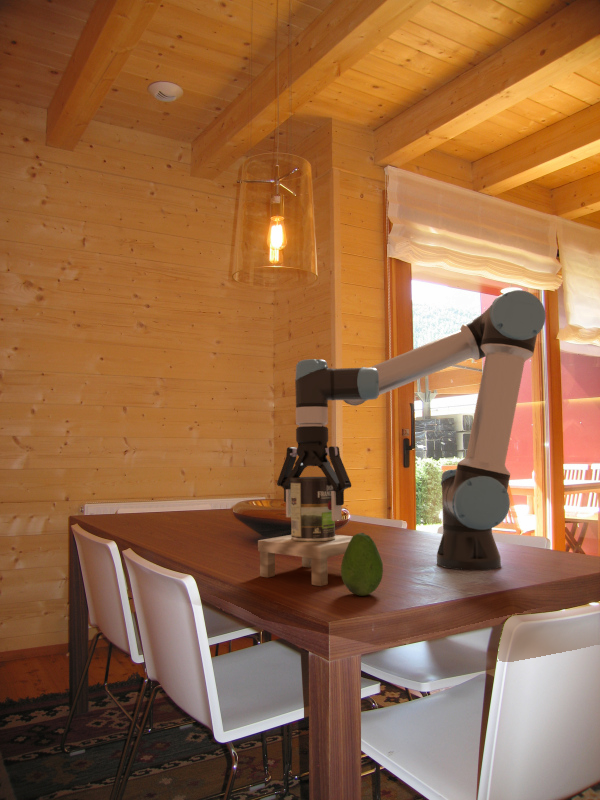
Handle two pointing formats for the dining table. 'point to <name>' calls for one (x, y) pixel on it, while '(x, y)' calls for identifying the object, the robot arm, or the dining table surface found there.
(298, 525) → the coffee can
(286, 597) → the dining table surface
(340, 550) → the footstool
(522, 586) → the dining table surface
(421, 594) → the dining table surface
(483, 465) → the robot arm
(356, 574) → the fruit
